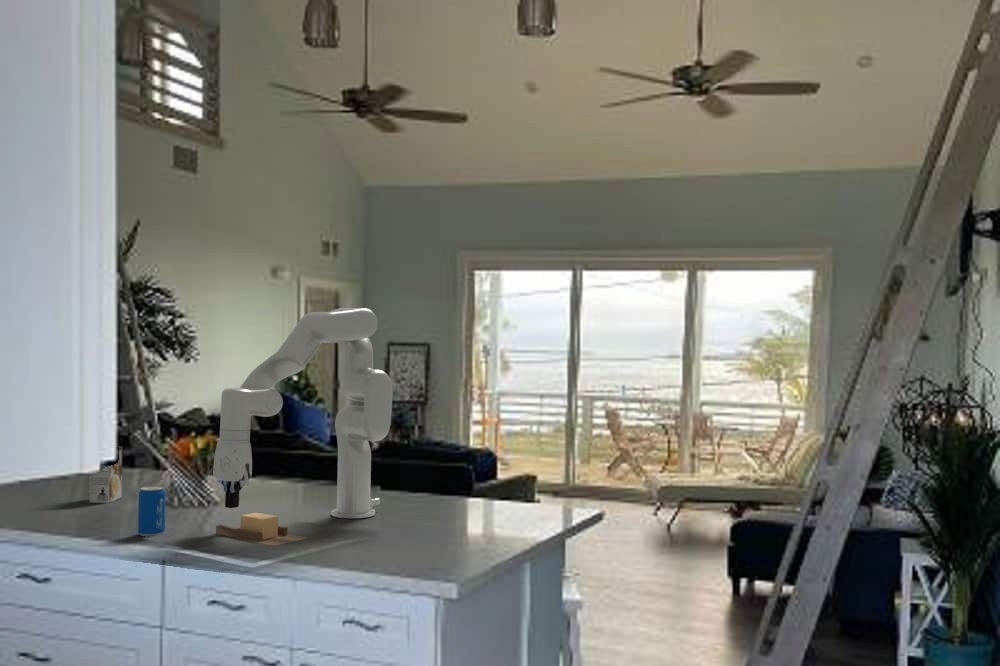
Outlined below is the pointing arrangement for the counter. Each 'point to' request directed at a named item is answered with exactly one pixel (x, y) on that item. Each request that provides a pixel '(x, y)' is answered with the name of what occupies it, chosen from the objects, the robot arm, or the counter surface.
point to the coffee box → (107, 483)
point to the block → (261, 524)
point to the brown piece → (258, 535)
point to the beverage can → (151, 511)
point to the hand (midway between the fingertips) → (231, 507)
